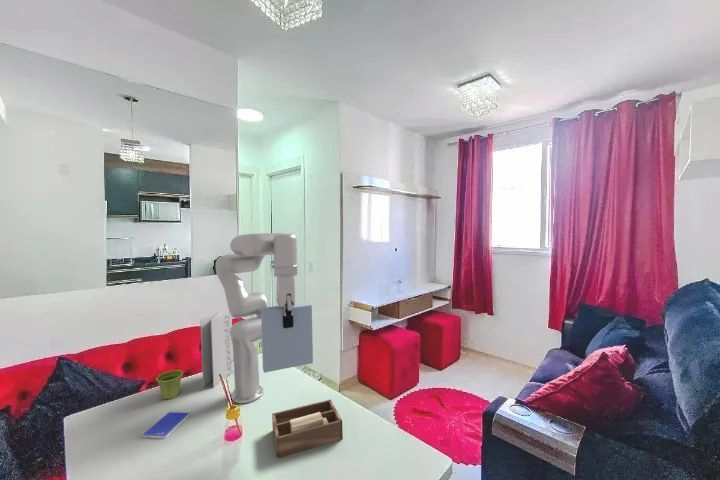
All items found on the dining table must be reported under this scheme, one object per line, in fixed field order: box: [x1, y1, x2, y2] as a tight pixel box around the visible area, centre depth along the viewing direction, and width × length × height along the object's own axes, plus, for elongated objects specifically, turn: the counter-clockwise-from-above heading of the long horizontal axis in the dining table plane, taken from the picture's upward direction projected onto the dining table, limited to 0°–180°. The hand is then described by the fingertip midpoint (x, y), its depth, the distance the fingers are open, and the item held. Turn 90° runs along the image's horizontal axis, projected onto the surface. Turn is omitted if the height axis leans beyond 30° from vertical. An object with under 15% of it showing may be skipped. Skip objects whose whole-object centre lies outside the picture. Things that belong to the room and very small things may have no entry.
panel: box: [261, 302, 314, 373], centre depth 100 cm, size 4×16×20 cm, turn 113°
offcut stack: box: [290, 412, 328, 433], centre depth 97 cm, size 4×14×8 cm, turn 114°
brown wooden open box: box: [271, 399, 344, 459], centre depth 100 cm, size 13×21×6 cm, turn 112°
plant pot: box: [155, 369, 184, 400], centre depth 125 cm, size 9×9×9 cm
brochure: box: [199, 310, 234, 388], centre depth 138 cm, size 14×6×30 cm, turn 168°
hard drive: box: [141, 411, 190, 439], centre depth 106 cm, size 2×8×12 cm
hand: (287, 324), depth 100 cm, fingers closed on panel, 4 cm apart
